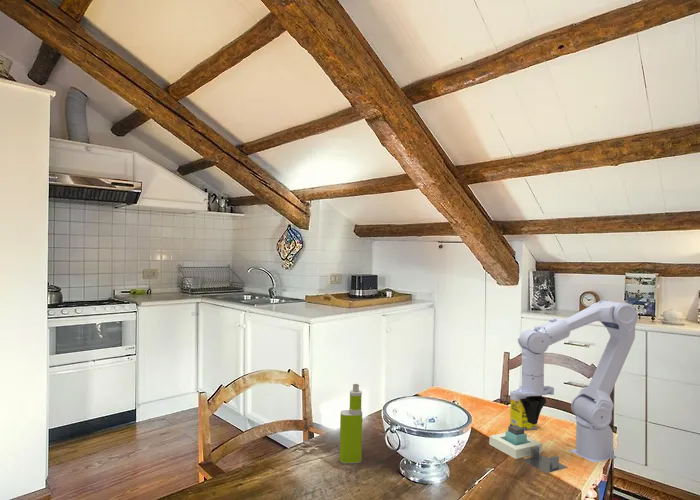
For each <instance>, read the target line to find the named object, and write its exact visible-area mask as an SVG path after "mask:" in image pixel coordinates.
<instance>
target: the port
mask: <svg viewBox="0 0 700 500" xmlns="http://www.w3.org/2000/svg"><path fill="white" fill-rule="evenodd" d="M488 442H489V443H488V444H489V445H490V446H492V447H494V448H495V449H497V450H499V451H500V452H503V453H505V454H506V455H508V456H509V457H511V458H513V459H515V460H518V459H523V458H525V457H531V447H535V446H538V447H539V454H542V453H543V443H541V442H539V441H537V440H536V439H533V438H531V437H529V436H527V443H526V444H521V445H517V446H515V445H513V444H511V443H509V442H508V441H506V432H502V433H497V434H492V435H489V441H488Z"/></svg>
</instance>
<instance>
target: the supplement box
mask: <svg viewBox="0 0 700 500" xmlns="http://www.w3.org/2000/svg"><path fill="white" fill-rule="evenodd" d="M509 409H510V413H509V414H510V415H509V416H510V417H509V426H514V425H517V426H519V427H521V428H524V432H525V431H533V430H535V431H537V429H538V428H537V427H538V426H537V425H538V423H537V424H531V423H529V422H528V420H527V416H526V413H525V409H524V407H523V405H522V403H521V401H520V399H518V401H515V400H512V399H510V407H509Z"/></svg>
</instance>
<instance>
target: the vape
mask: <svg viewBox="0 0 700 500" xmlns="http://www.w3.org/2000/svg"><path fill="white" fill-rule="evenodd" d="M359 387H360V384H358V383H354V384H352V389H351V390H350V391H349V410H348V409H347V410H346V409H344V410H341V411H340V416H339V417H340V418H339V419H340V422H339V423H340V426H339V427H340V428H339V462H340V463H342V464H358V463H362V451H363V450H362V444H363V440H362V439H363V410H362V395H363V392H362V390H361V389H360V388H359Z"/></svg>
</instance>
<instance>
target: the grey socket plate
mask: <svg viewBox="0 0 700 500" xmlns="http://www.w3.org/2000/svg"><path fill="white" fill-rule="evenodd" d="M521 461H522V462H525V463H526V464H528V465H530V466H532V467H534V468H535V469H536V470H537V469H538V470H539V471H541V472H543V473H545V474H549V473H552V472H557V471H561V470H563V469H568V468H569V467H568V466H566V465H564V464H562V463H560V456H558V455H554V456H550V457H548V456H546V455H544V454H540V453H539V447H538V446H535V447H531V455H530V457H528V458H522V459H521Z"/></svg>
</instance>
